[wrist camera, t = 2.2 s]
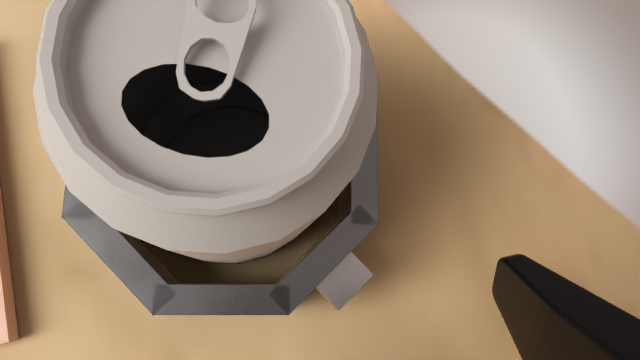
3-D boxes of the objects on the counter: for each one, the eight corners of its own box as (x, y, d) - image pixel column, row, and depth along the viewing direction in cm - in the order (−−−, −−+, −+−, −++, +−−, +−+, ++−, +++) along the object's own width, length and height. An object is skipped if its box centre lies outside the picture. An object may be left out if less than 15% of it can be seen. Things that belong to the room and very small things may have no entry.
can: (116, 241, 20) (-76, 194, 8) (168, 70, 22) (69, -171, 10) (298, 282, 21) (358, 292, 9) (336, 113, 22) (430, -65, 11)
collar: (431, 199, 22) (458, 188, 19) (244, 391, 20) (243, 412, 17) (221, -15, 23) (216, -58, 20) (15, 146, 20) (-25, 124, 17)
